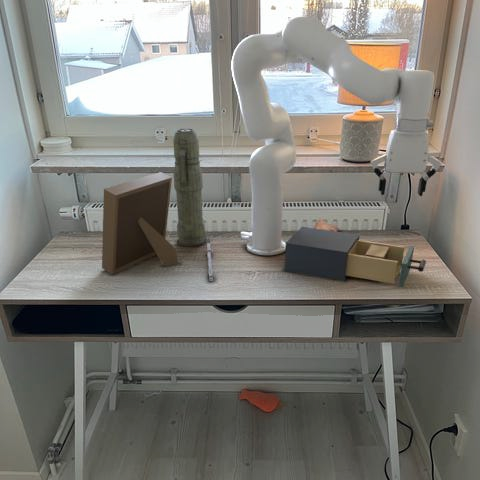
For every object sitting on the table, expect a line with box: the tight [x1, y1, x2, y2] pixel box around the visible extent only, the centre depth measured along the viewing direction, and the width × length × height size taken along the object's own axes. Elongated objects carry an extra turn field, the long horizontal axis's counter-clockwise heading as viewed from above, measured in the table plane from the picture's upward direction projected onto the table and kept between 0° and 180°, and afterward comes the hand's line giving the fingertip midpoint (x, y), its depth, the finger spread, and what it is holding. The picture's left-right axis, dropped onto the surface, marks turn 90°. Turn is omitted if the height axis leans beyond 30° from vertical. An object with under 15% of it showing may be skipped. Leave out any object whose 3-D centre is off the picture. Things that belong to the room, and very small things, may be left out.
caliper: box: [206, 235, 214, 282], centre depth 152 cm, size 20×1×6 cm, turn 5°
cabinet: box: [284, 226, 360, 282], centre depth 151 cm, size 18×15×9 cm
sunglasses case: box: [314, 218, 340, 232], centre depth 172 cm, size 18×7×7 cm
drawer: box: [345, 239, 427, 288], centre depth 145 cm, size 21×13×7 cm, turn 66°
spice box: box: [365, 245, 389, 260], centre depth 145 cm, size 5×8×6 cm, turn 156°
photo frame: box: [101, 171, 179, 275], centre depth 149 cm, size 15×22×25 cm
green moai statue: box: [172, 128, 206, 247], centre depth 163 cm, size 9×12×35 cm
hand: (400, 194), depth 137 cm, fingers open, 9 cm apart
